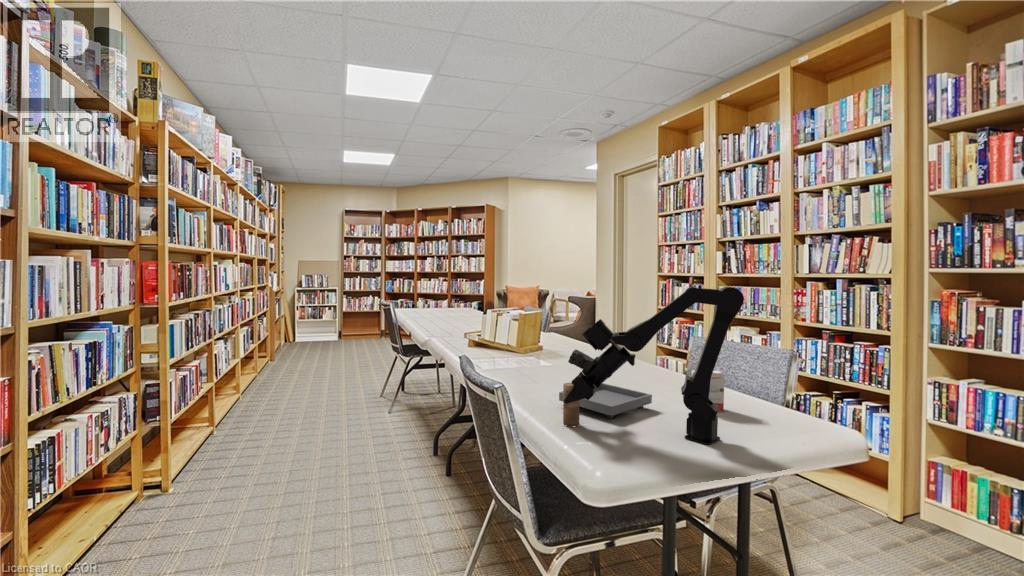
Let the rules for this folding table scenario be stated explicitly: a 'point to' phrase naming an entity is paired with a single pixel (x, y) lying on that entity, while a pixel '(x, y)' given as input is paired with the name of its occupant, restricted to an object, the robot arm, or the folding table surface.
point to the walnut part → (570, 408)
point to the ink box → (716, 390)
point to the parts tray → (614, 400)
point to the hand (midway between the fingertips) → (566, 400)
